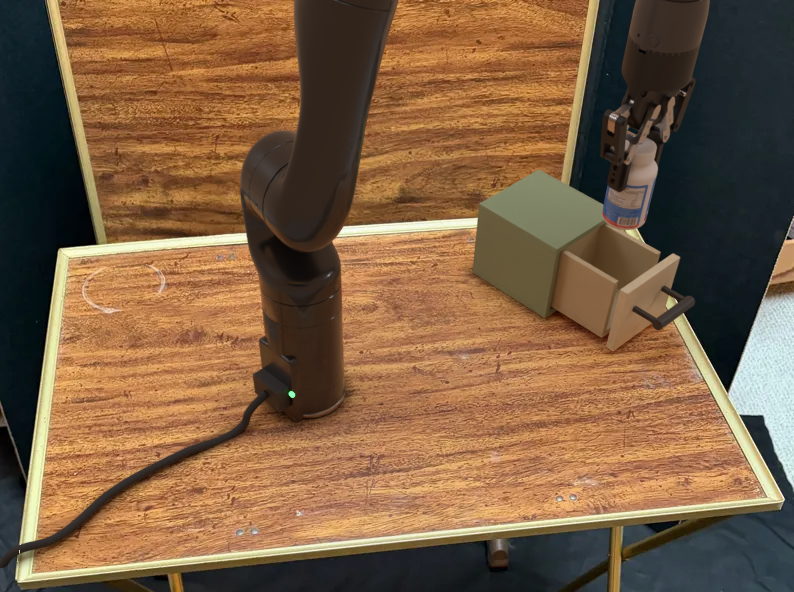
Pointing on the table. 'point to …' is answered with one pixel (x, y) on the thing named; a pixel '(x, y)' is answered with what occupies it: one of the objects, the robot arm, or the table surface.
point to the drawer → (616, 285)
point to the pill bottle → (633, 191)
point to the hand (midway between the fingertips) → (631, 178)
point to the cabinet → (531, 236)
